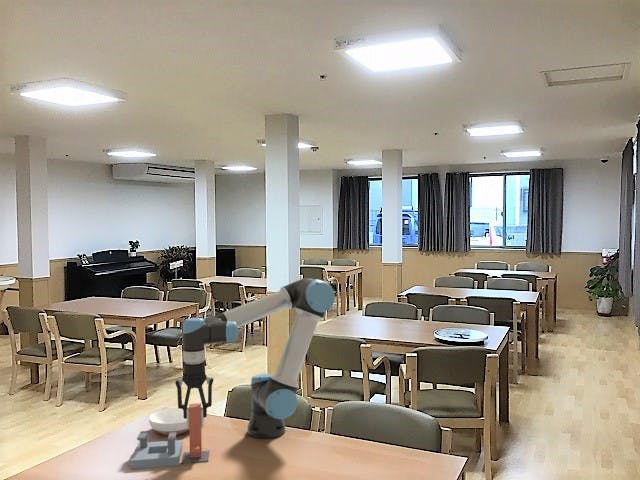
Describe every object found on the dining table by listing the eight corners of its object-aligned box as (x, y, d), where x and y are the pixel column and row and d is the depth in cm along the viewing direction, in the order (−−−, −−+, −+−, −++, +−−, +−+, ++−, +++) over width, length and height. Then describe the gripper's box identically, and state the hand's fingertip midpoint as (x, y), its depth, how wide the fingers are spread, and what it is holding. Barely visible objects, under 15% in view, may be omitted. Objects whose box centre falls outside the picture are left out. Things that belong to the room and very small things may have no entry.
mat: (209, 451, 209) (209, 450, 209) (208, 461, 200) (208, 460, 200) (184, 453, 208) (184, 452, 208) (181, 463, 199) (181, 462, 199)
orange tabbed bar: (191, 449, 209) (190, 400, 209) (202, 448, 210) (201, 400, 210) (189, 462, 198) (188, 410, 197) (200, 461, 198) (199, 410, 198)
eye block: (182, 447, 213) (182, 425, 213) (178, 465, 197) (178, 441, 197) (138, 451, 211) (137, 428, 210) (130, 469, 195) (130, 445, 195)
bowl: (192, 439, 222) (192, 423, 222) (142, 439, 222) (142, 423, 222) (203, 422, 242) (203, 407, 241) (157, 422, 242) (157, 408, 242)
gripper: (168, 365, 198) (169, 432, 199) (218, 363, 201) (219, 428, 201) (170, 360, 206) (171, 424, 206) (219, 358, 208) (220, 421, 209)
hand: (195, 426), depth 204 cm, fingers open, 4 cm apart
